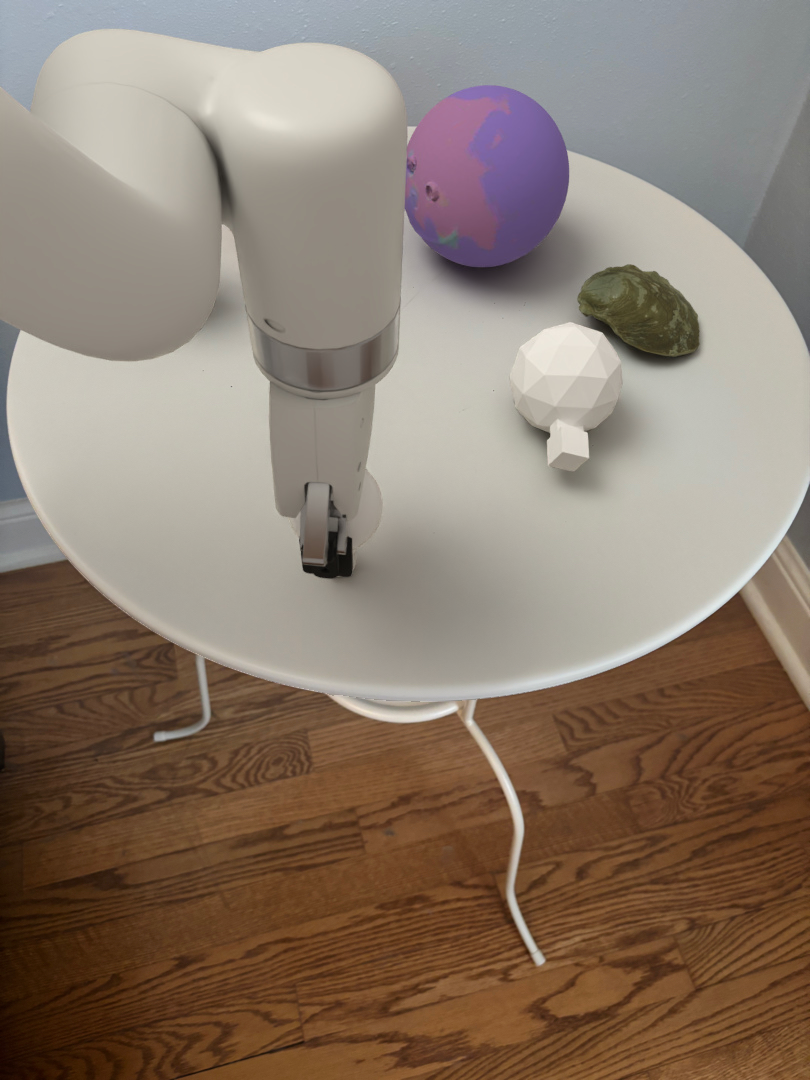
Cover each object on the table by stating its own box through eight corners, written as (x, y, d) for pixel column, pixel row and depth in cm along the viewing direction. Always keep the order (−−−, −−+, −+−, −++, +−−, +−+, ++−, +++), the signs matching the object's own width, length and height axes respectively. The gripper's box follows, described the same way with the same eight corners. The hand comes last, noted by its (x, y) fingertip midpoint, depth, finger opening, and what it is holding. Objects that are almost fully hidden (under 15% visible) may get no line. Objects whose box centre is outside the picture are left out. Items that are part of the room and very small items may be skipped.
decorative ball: (369, 231, 82) (369, 79, 70) (491, 183, 87) (512, 33, 75) (456, 323, 76) (474, 174, 63) (583, 266, 81) (623, 117, 68)
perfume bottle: (492, 353, 72) (492, 475, 66) (543, 284, 64) (548, 417, 59) (581, 377, 74) (588, 497, 69) (641, 314, 66) (654, 443, 61)
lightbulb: (396, 580, 61) (401, 493, 52) (319, 617, 60) (310, 534, 50) (356, 517, 64) (354, 424, 55) (281, 550, 62) (265, 460, 53)
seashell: (723, 344, 73) (668, 276, 67) (653, 397, 76) (595, 337, 70) (674, 284, 80) (621, 218, 74) (612, 336, 83) (556, 276, 77)
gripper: (277, 208, 46) (299, 416, 61) (215, 454, 37) (259, 629, 52) (411, 219, 46) (401, 425, 61) (383, 468, 37) (379, 639, 52)
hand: (335, 517), depth 57 cm, fingers open, 7 cm apart
